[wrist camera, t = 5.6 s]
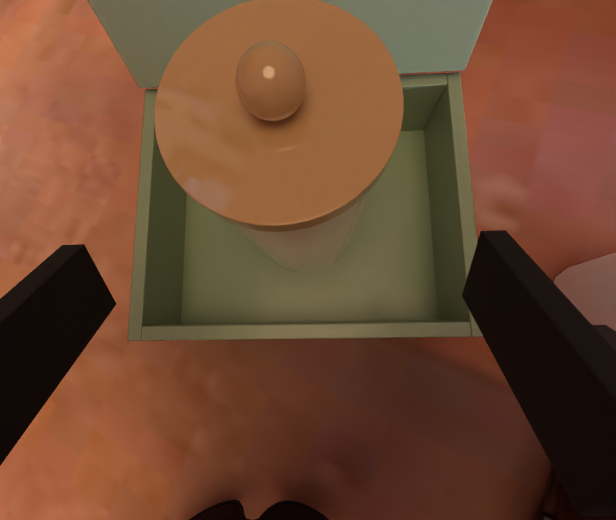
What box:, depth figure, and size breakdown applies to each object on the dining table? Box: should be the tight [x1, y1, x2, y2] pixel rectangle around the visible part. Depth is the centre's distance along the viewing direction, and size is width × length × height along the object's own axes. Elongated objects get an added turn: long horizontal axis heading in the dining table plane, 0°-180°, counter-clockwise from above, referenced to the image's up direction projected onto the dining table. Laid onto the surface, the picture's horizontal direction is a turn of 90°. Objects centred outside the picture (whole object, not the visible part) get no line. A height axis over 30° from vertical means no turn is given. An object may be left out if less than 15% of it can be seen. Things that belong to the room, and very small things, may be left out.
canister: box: [154, 0, 404, 273], centre depth 16 cm, size 8×8×16 cm
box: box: [128, 72, 483, 341], centre depth 22 cm, size 16×20×6 cm
